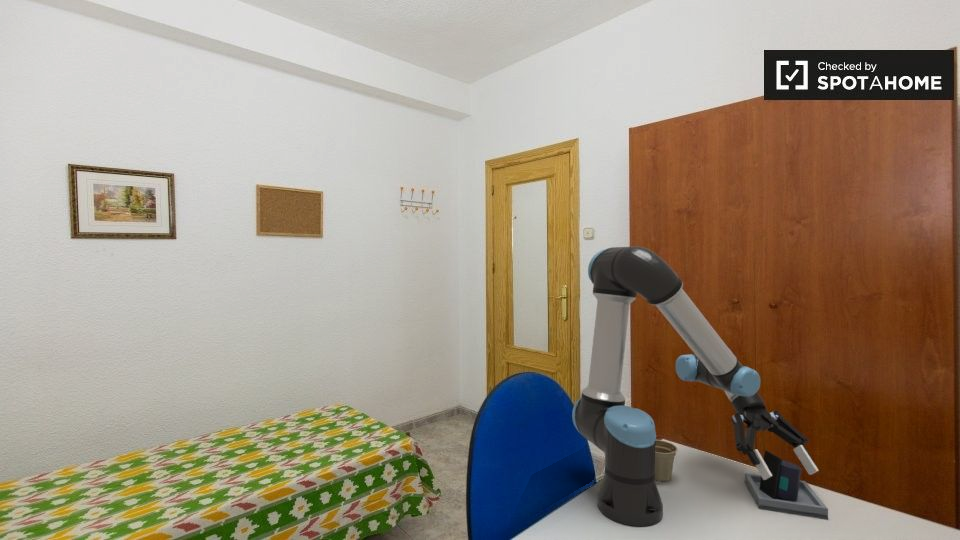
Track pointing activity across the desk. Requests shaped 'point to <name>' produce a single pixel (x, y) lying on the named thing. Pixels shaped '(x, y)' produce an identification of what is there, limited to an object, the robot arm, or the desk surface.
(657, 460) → the flower pot
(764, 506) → the tray
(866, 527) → the desk surface
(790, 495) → the dark cylinder with plate
